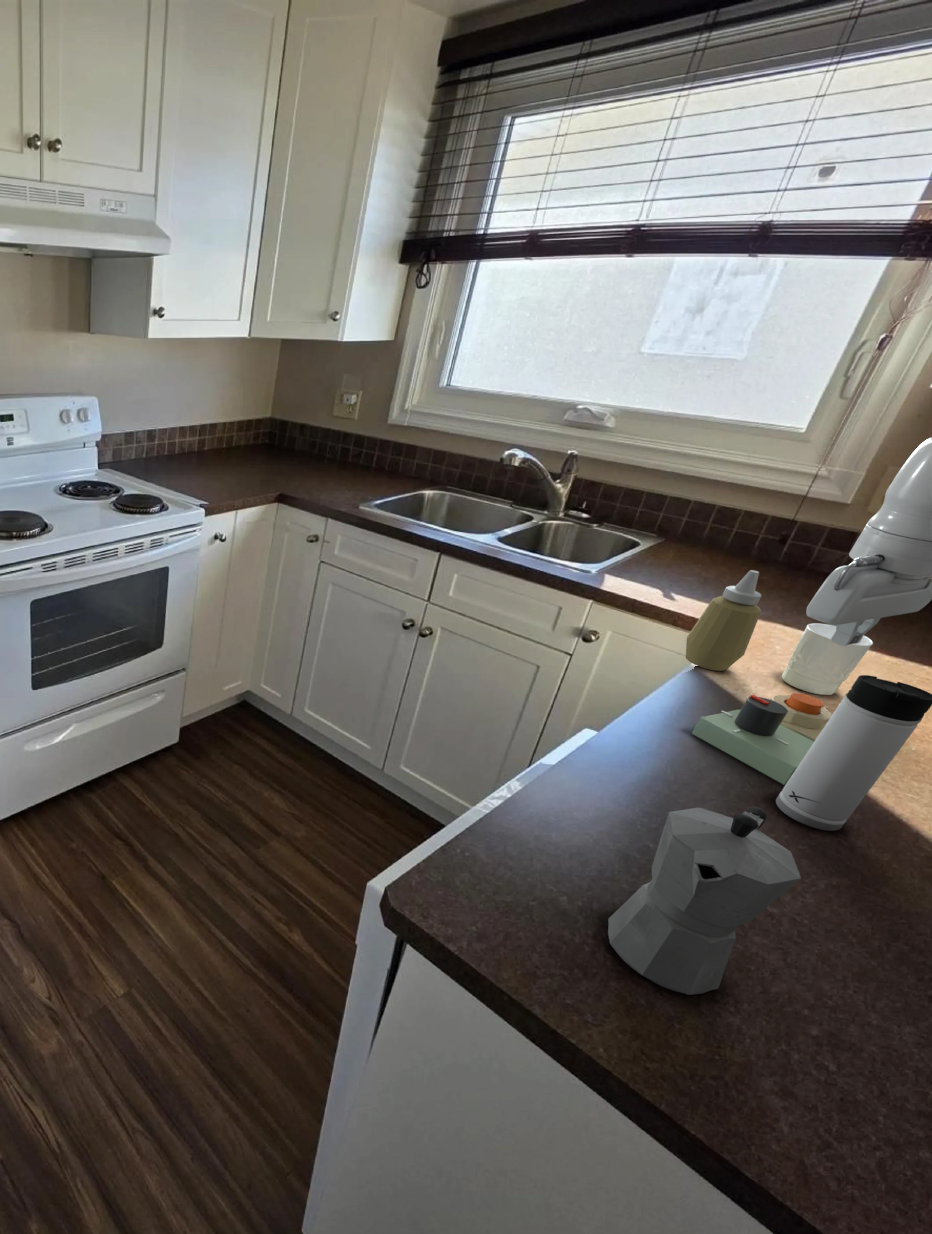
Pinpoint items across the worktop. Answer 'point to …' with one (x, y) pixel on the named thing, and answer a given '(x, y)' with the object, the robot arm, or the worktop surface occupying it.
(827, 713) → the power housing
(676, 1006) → the worktop surface
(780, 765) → the dial panel
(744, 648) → the squeeze bottle
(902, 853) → the worktop surface
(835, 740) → the travel mug
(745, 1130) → the worktop surface
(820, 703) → the power button
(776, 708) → the timer dial
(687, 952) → the coffeepot
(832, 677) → the white cup
